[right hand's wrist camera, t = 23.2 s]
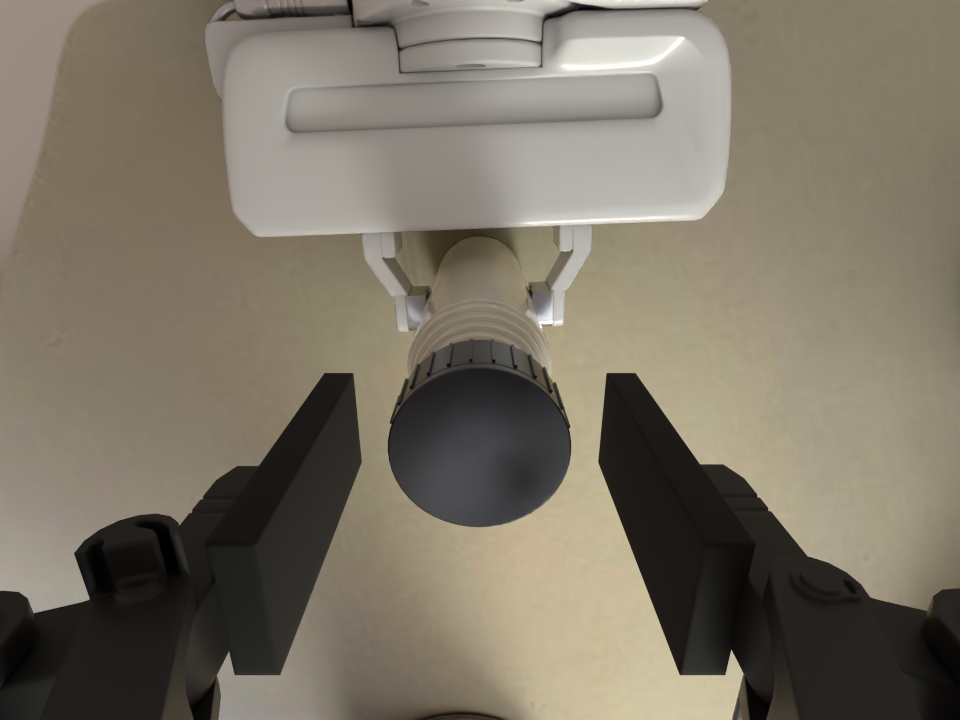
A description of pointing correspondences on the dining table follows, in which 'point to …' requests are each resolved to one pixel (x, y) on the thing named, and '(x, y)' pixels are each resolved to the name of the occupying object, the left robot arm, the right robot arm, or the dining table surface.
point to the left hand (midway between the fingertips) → (481, 325)
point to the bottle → (479, 303)
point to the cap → (479, 434)
